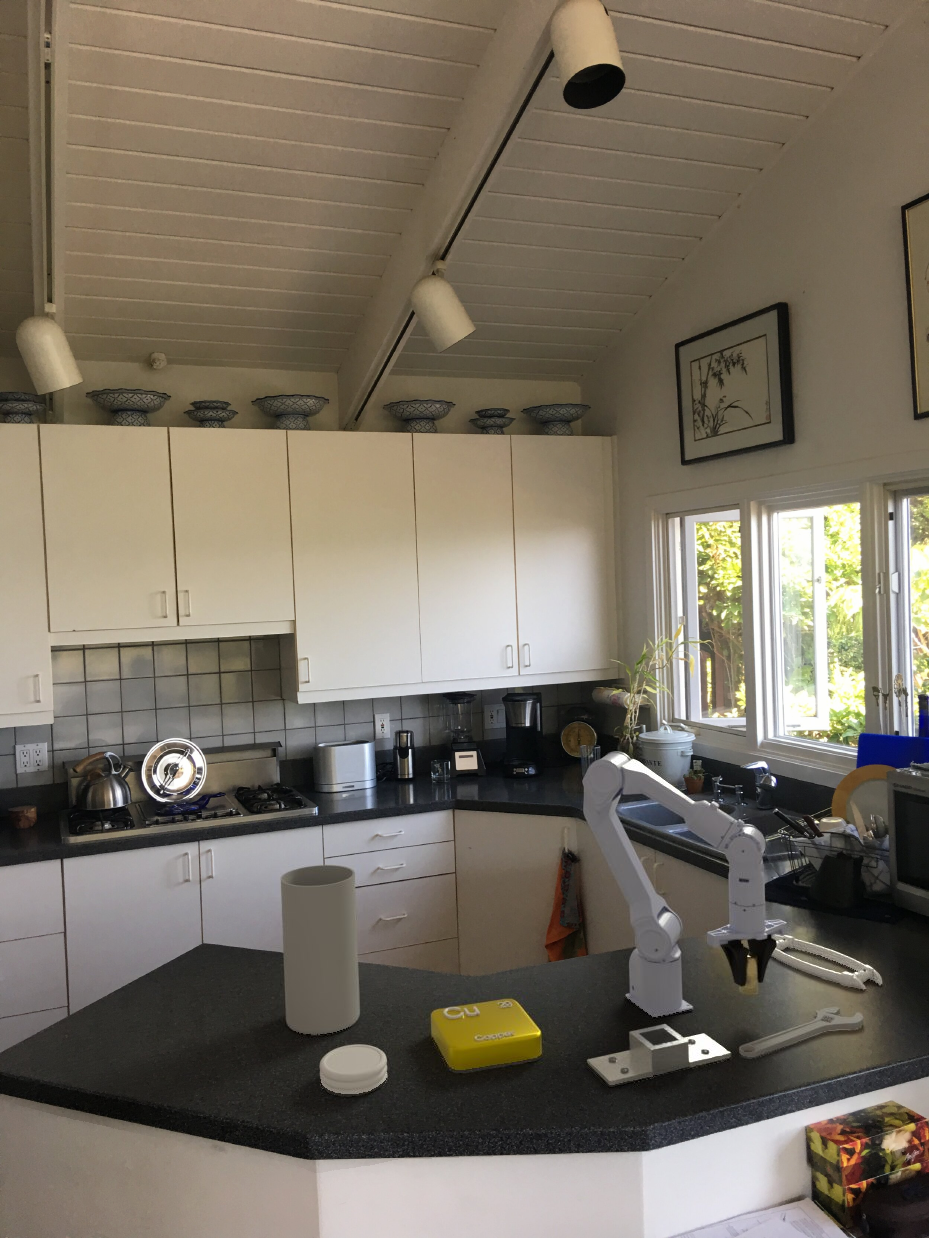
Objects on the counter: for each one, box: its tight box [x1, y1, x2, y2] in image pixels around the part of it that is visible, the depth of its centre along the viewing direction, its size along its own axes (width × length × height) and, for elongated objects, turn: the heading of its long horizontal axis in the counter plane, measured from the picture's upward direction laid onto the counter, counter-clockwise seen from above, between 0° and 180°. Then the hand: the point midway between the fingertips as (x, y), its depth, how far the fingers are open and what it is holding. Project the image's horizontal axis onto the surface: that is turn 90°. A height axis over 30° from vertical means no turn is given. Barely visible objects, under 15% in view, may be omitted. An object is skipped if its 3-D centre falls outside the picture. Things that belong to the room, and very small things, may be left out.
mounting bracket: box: [586, 1023, 732, 1085], centre depth 143 cm, size 7×21×4 cm, turn 110°
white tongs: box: [771, 934, 883, 991], centre depth 179 cm, size 3×10×25 cm
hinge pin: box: [738, 951, 759, 996], centre depth 157 cm, size 3×3×6 cm
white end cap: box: [319, 1043, 388, 1094], centre depth 141 cm, size 10×10×4 cm
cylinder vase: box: [280, 864, 361, 1036], centre depth 162 cm, size 12×12×25 cm
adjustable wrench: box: [738, 1006, 864, 1057], centre depth 151 cm, size 25×6×2 cm, turn 114°
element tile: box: [430, 998, 543, 1070], centre depth 151 cm, size 15×15×5 cm
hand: (748, 982), depth 157 cm, fingers closed on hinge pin, 3 cm apart
